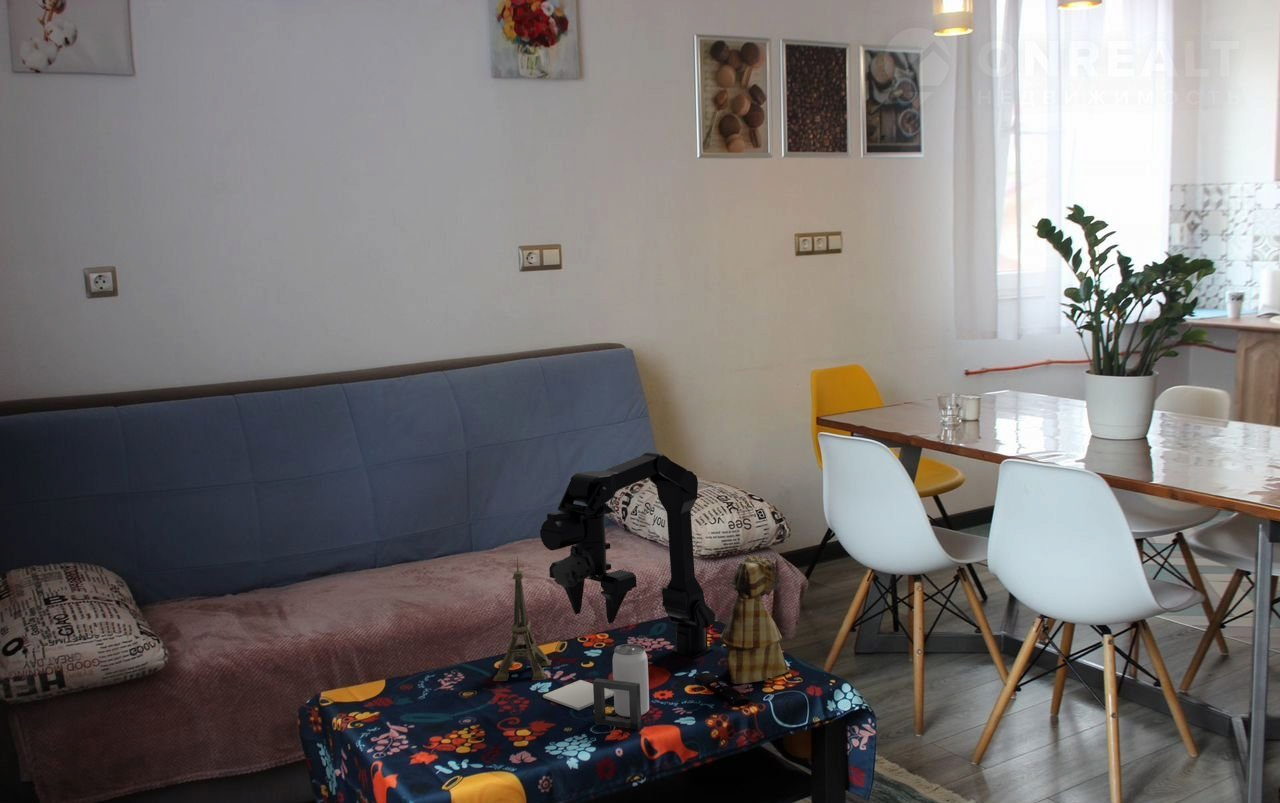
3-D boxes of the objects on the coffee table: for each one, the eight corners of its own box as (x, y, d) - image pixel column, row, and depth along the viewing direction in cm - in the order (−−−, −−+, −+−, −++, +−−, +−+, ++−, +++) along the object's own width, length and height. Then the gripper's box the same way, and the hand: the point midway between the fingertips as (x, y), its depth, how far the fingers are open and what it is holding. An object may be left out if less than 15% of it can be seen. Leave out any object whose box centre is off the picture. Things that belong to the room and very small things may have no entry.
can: (650, 704, 215) (648, 642, 213) (647, 718, 209) (645, 655, 207) (616, 704, 216) (614, 642, 214) (612, 718, 209) (609, 655, 208)
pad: (580, 682, 227) (580, 679, 227) (616, 694, 220) (616, 691, 220) (543, 697, 220) (542, 695, 220) (578, 710, 213) (578, 707, 213)
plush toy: (697, 662, 233) (712, 550, 226) (752, 650, 240) (768, 541, 233) (736, 697, 222) (754, 582, 214) (792, 684, 229) (811, 571, 221)
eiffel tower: (501, 662, 240) (495, 546, 237) (551, 661, 240) (546, 545, 237) (493, 681, 230) (486, 560, 227) (545, 680, 229) (539, 559, 226)
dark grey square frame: (598, 720, 208) (596, 678, 207) (641, 726, 205) (639, 683, 204) (594, 723, 207) (593, 681, 206) (638, 729, 204) (636, 686, 203)
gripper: (526, 540, 219) (530, 619, 221) (594, 556, 206) (597, 639, 208) (569, 529, 227) (572, 605, 229) (637, 543, 214) (640, 623, 216)
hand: (593, 618), depth 220 cm, fingers open, 9 cm apart
